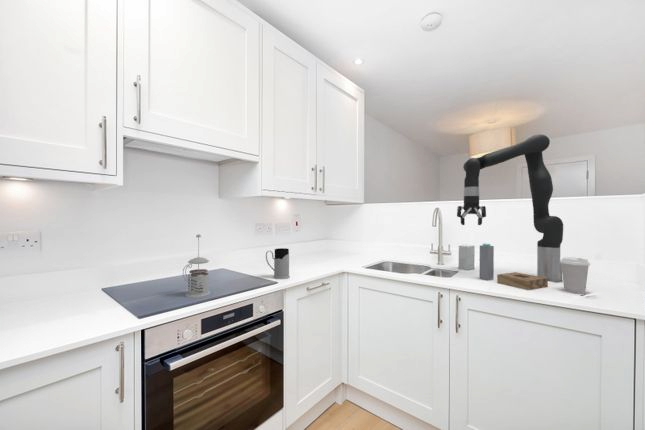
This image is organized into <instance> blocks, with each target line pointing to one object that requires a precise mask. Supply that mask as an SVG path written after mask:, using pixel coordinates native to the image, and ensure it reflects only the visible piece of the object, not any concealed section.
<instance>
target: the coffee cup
mask: <svg viewBox="0 0 645 430" xmlns="http://www.w3.org/2000/svg"><path fill="white" fill-rule="evenodd" d="M560 263H561V264H562V283H563V290H564V291H565V292H569V293H573V294H581V295H579V297H582V296H583V297H584V296H585V294H586V290H587V283H588V281H587V280H588V274H589V266H591V263H590V262H589V261H588V259H586V258H582V257H568V256H567V257H566V256H565V257H562V258H561V259H560Z"/></svg>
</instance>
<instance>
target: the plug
mask: <svg viewBox="0 0 645 430" xmlns="http://www.w3.org/2000/svg"><path fill="white" fill-rule="evenodd" d="M494 247H495V246H494V245H491V243H485V242H484V243H482V244H481V245H479V279H480V280H484V281H493V280H494V279H495V278H494V276H495V275H494V272H495V271H494V270H495V269H494V266H495V265H494V264H495V261H494V259H495V257H494V253H495V252H494V250H495V249H494Z"/></svg>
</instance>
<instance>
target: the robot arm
mask: <svg viewBox="0 0 645 430" xmlns="http://www.w3.org/2000/svg"><path fill="white" fill-rule="evenodd" d="M550 144H551V142H550V138H549V137H548V136H547V135H545V134H535V135H532V136H530V137H528V138H527V139H525V140H524V141H522V142H519V143H516V144H514V145H510V146H507V147H505V148H501V149H498V150H494V151H491V152H488V153H485V154H484V155H482V156H480V157H477V158H474V157H472V158H469V159H467V160H466V161H465V162H464V164H463V171H464V172H465V177H464V185H463V187H464V188H463V206H461V205H458V206H457V209H456V217H458V218H460V224H461V226H465V217H466V216H467V215H475V216H476V217H477V225H478V226H482V225H483V218H486V217H487V207H486V206H485V205H482V206H480V185H479V184H480V180H479V177H480V171H481V170H483V169H486V168H489V167H492V166H495V165H498V164H502V163H504V162H507V161H510V160H512V159H515V158H518V157H520V156H524V158H525V162H526V165H527V174H528V180H529V189H530V195H531V202H532V210H533V211H532V212H533V226H534V229H535V231H536V232H538V233H541V234H543V235H542V238H541V239H540V240H538V241H537V245H536V246H537V247H536V253H537V255H536V257H537V258H536V259H537V260H536V261H537V262H536V265H537V266H536V267H537V268H536V272H537V273H536V276H539V277H545V278H548V282H550V283H559V282H560V281H562V282H563V273H562V264H561V263H560V261H561V244H562V243H563V240H564V222H563V220H562V219H561V218H560V216H559V217H558V216H556V215H550V211H549V203H550V202H551V201H550V200H551V198H552V195H553V191H554V186H553V180H552V179H553V178H552V176H551V173H550V172H549V170H548V168H547V167H546V165H545V162H544V157H543V152H544V151H546V150H547V149H548V147H549V146H550ZM462 210H463V211H462ZM480 211H481V212H480Z"/></svg>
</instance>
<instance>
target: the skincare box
mask: <svg viewBox="0 0 645 430" xmlns="http://www.w3.org/2000/svg"><path fill="white" fill-rule="evenodd" d="M475 247H476V246H475V245H472V244H463V245H462V244H461V245H458V270H462V271H463V270H464V271H471V270H475V253H476V252H475V251H476V249H475Z"/></svg>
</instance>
